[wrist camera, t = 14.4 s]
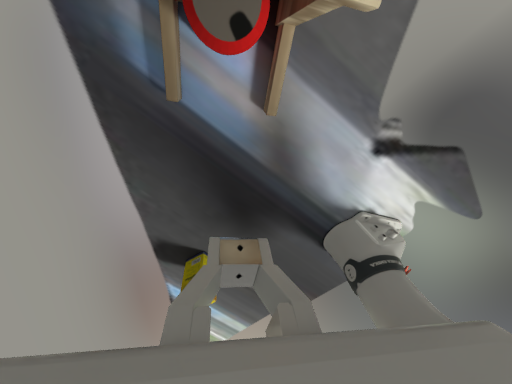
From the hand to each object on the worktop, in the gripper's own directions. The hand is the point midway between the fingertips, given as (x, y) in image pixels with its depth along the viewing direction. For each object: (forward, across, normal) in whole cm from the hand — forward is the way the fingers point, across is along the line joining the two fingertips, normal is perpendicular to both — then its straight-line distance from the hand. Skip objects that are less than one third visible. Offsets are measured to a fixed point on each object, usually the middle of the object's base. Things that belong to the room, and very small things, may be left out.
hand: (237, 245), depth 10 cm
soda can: (+27, +2, -12) cm, 30 cm away
